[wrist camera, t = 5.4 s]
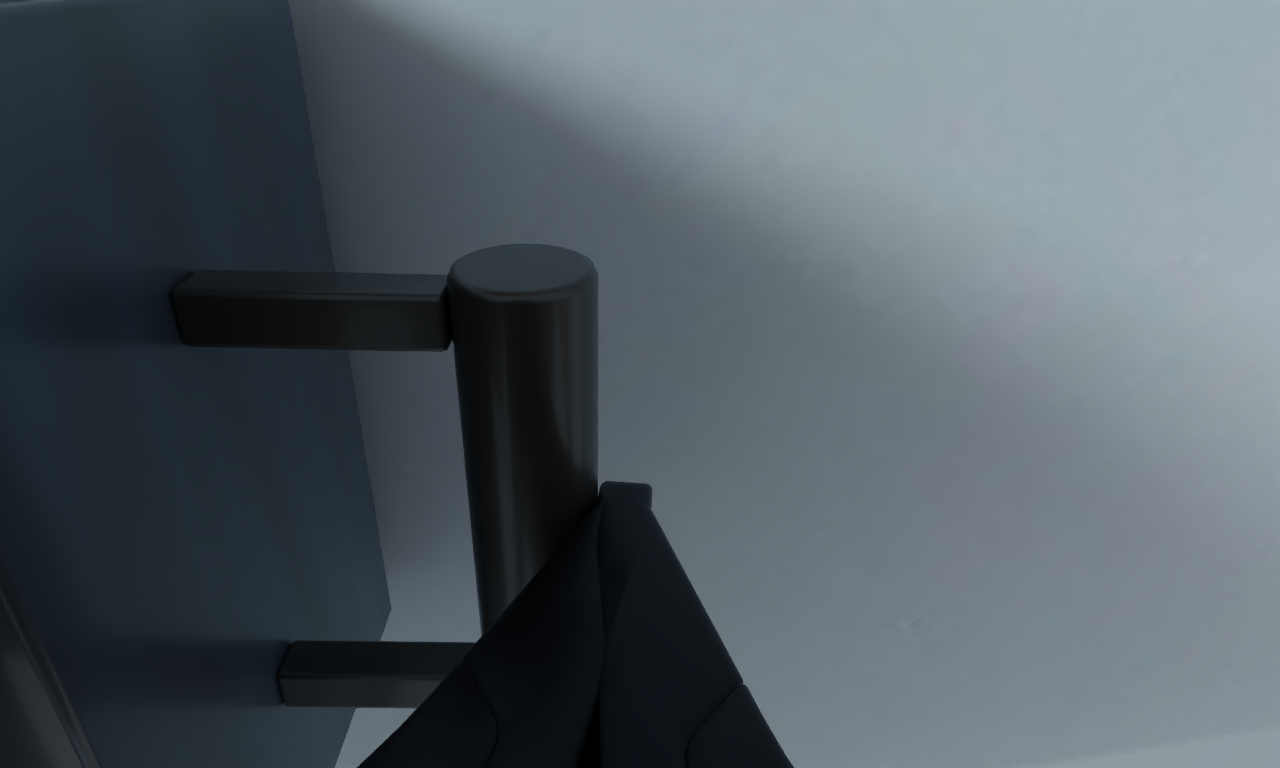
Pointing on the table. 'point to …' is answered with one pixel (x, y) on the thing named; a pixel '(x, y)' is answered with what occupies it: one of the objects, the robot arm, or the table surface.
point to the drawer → (231, 402)
